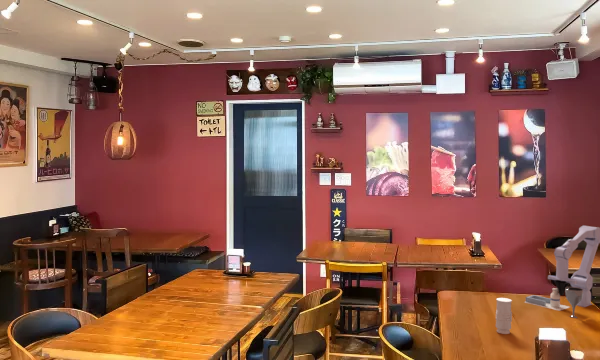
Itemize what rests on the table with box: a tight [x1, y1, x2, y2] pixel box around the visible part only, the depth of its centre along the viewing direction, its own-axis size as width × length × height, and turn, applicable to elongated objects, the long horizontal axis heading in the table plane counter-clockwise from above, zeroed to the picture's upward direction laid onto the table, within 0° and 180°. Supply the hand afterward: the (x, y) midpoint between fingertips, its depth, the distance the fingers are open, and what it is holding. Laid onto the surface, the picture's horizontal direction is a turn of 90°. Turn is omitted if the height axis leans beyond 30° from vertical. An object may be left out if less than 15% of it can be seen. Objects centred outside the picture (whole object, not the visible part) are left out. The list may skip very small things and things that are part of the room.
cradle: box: [524, 294, 570, 312], centre depth 284 cm, size 12×20×3 cm, turn 37°
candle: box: [495, 297, 513, 335], centre depth 240 cm, size 7×7×15 cm
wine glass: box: [564, 286, 583, 319], centre depth 261 cm, size 8×8×15 cm
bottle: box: [549, 287, 561, 308], centre depth 280 cm, size 5×5×10 cm
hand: (561, 294), depth 277 cm, fingers closed
